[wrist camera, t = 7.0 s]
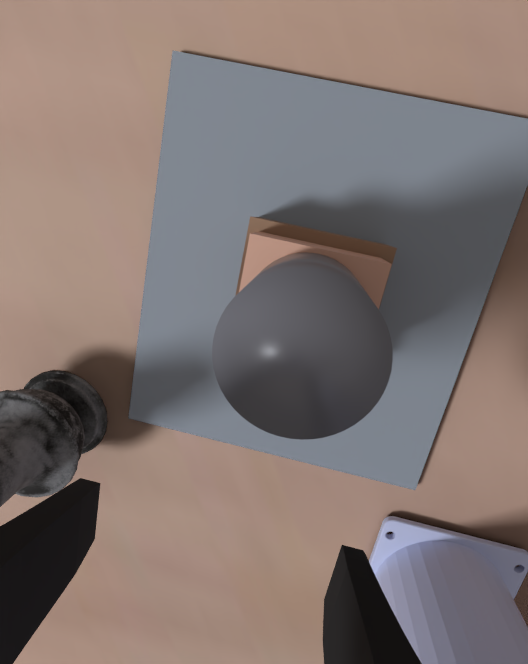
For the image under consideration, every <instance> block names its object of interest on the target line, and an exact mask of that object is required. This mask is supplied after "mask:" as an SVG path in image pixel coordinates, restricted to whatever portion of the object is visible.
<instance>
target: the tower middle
mask: <svg viewBox="0 0 528 664" xmlns="http://www.w3.org/2000/svg"><path fill="white" fill-rule="evenodd" d="M303 252H308V253H317V254H322V255H325V256H328V257H331V258H333V259H335V260H337V261H338V262H340V263H341V264H343V265H344V266H345V267H347V268H348V269H349V270H350V271H351V272H352V273H353V275H354V276H355V277H356V278H357V280H358V281H359V283H360V284H361V285H362V287H363V288H364V290H365V291H366V292H367V294H368V295H369V297H370V298H371V299H372V301H373V302H374V304H375V305H376V307H377V308H378V310H379V306H380V303H381V299H382V296H383V293H384V289H385V286H386V282H387V279H388V276H389V272H390V269H391V265H392V264H391V263H389V262H387V261H385V260H384V259H382V258H379V257H375V256H370V255H366V254H361V253H356V252H352V251H347V250H342V249H338V248H333V247H329V246H324V245H319V244H315V243H310V242H306V241H301V240H296V239H292V238H287V237H282V236H278V235H273V234H269V233H264V232H254V233H250V236H249V241H248V246H247V252H246V257H245V262H244V267H243V273H242V278H241V283H240V289H239V292H240V291H241V290H242V289H243V288H244V287H245V286H246V285H247V284H248V283H249V282H251V281H252V280H253V279H254V278H255V277H256V276H257V275H258V274H259V273H260V272H261V271H262V270H263V269H264V268H265V267H266V266H268V265H269V264H271V263H272V262H273V261H275V260H277V259H279V258H281V257H284V256H287V255H290V254H294V253H303Z"/></svg>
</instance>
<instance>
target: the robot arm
mask: <svg viewBox="0 0 528 664" xmlns="http://www.w3.org/2000/svg"><path fill="white" fill-rule="evenodd" d="M99 491H100V483H97V482H93V481H89V480H86V479H82V478H80V479H79V480H77V481H75V482H73V483H72V484H70V485H68V486H67V487H65V488H64V489H62V490H60V491H59V492H57V493H55V494H54V495H52V496H51V497H49V498H47V499H46V500H44V501H42V502H41V503H39V504H38V505H36V506H34V507H33V508H31V509H29V510H28V511H26V512H24V513H23V514H21V515H19V516H17V517H16V518H14V519H12V520H11V521H9V522H7V523H6V524H4V525H2V526H0V664H13V663H14V661H15V660H16V658H17V657H18V655H19V654H20V652H21V651H22V649H23V648H24V647H25V645H26V644H27V642H28V641H29V640H30V638H31V637H32V635H33V634H34V632H35V631H36V630H37V628H38V627H39V625H40V624H41V622H42V621H43V620H44V618H45V617H46V615H47V614H48V613H49V611H50V610H51V608H52V607H53V605H54V604H55V603H56V601H57V600H58V598H59V597H60V595H61V594H62V592H63V591H64V590H65V588H66V587H67V585H68V584H69V582H70V581H71V579H72V578H73V577H74V575H75V574H76V572H77V570H78V568H79V566H80V565H81V563H82V561H83V559H84V558H85V556H86V554H87V552H88V550H89V548H90V546H91V545H92V543H93V541H94V539H95V530H96V520H97V510H98V501H99ZM387 532H393V533H392V534H386V533H387ZM517 565H520V566H518V567H515V566H517ZM527 572H528V552H527V551H526V550H524V549H520V548H517V547H513V546H509V545H505V544H501V543H497V542H493V541H489V540H485V539H481V538H477V537H473V536H469V535H466V534H462V533H458V532H454V531H450V530H446V529H442V528H438V527H434V526H430V525H426V524H422V523H418V522H415V521H411V520H407V519H403V518H399V517H395V516H389V517H386V518H385V519H384V520H383V522H382V525H381V528H380V531H379V534H378V537H377V539H376V542H375V545H374V548H373V551H372V554H371V557H370V559H369V561H368V559H367V556H366V554H365V553H364V551H363V550H359V549H355V548H352V547H348V546H344V545H342V546H341V549H340V552H339V556H338V559H337V562H336V565H335V568H334V571H333V574H332V577H331V580H330V583H329V586H328V589H327V593H326V596H325V599H324V619H323V651H324V664H528V627H527V625H526V623H525V621H524V619H523V617H522V615H521V613H520V611H519V609H518V608H517V606H516V604H515V602H514V598H515V596H516V594H517V592H518V590H519V588H520V586H521V584H522V582H523V580H524V578H525V576H526V574H527Z"/></svg>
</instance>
